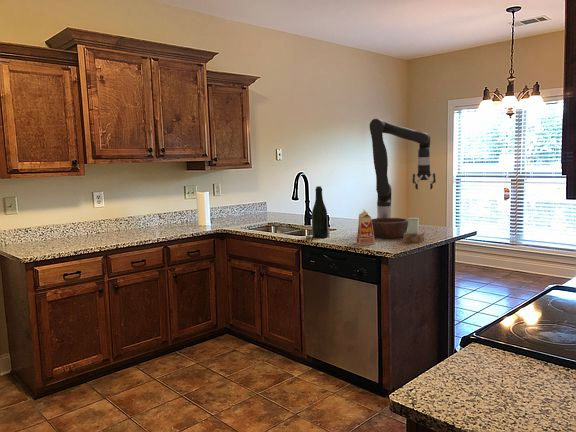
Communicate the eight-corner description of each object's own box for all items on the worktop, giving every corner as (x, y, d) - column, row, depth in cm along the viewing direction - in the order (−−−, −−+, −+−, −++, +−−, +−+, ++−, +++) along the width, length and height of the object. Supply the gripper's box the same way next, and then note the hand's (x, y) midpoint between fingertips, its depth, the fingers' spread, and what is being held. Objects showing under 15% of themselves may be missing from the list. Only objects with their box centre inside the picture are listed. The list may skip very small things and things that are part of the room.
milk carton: (356, 242, 287) (355, 209, 285) (371, 241, 288) (370, 208, 285) (359, 245, 278) (358, 211, 276) (375, 244, 279) (374, 210, 276)
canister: (407, 233, 284) (407, 218, 283) (408, 232, 289) (408, 217, 288) (417, 233, 282) (417, 218, 281) (418, 232, 287) (418, 217, 286)
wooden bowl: (409, 239, 292) (409, 222, 291) (368, 239, 297) (367, 223, 295) (407, 232, 316) (407, 217, 315) (368, 233, 321) (368, 217, 320)
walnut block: (403, 242, 284) (403, 234, 283) (407, 239, 292) (407, 231, 292) (420, 243, 279) (420, 234, 278) (424, 240, 288) (424, 232, 287)
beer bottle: (315, 235, 319) (313, 185, 316) (330, 235, 316) (328, 185, 312) (310, 238, 310) (308, 186, 306) (325, 238, 306) (324, 186, 302)
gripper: (412, 164, 307) (412, 190, 309) (435, 164, 303) (435, 189, 305) (412, 164, 314) (412, 189, 316) (435, 163, 310) (435, 189, 312)
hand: (424, 189), depth 310 cm, fingers open, 8 cm apart
